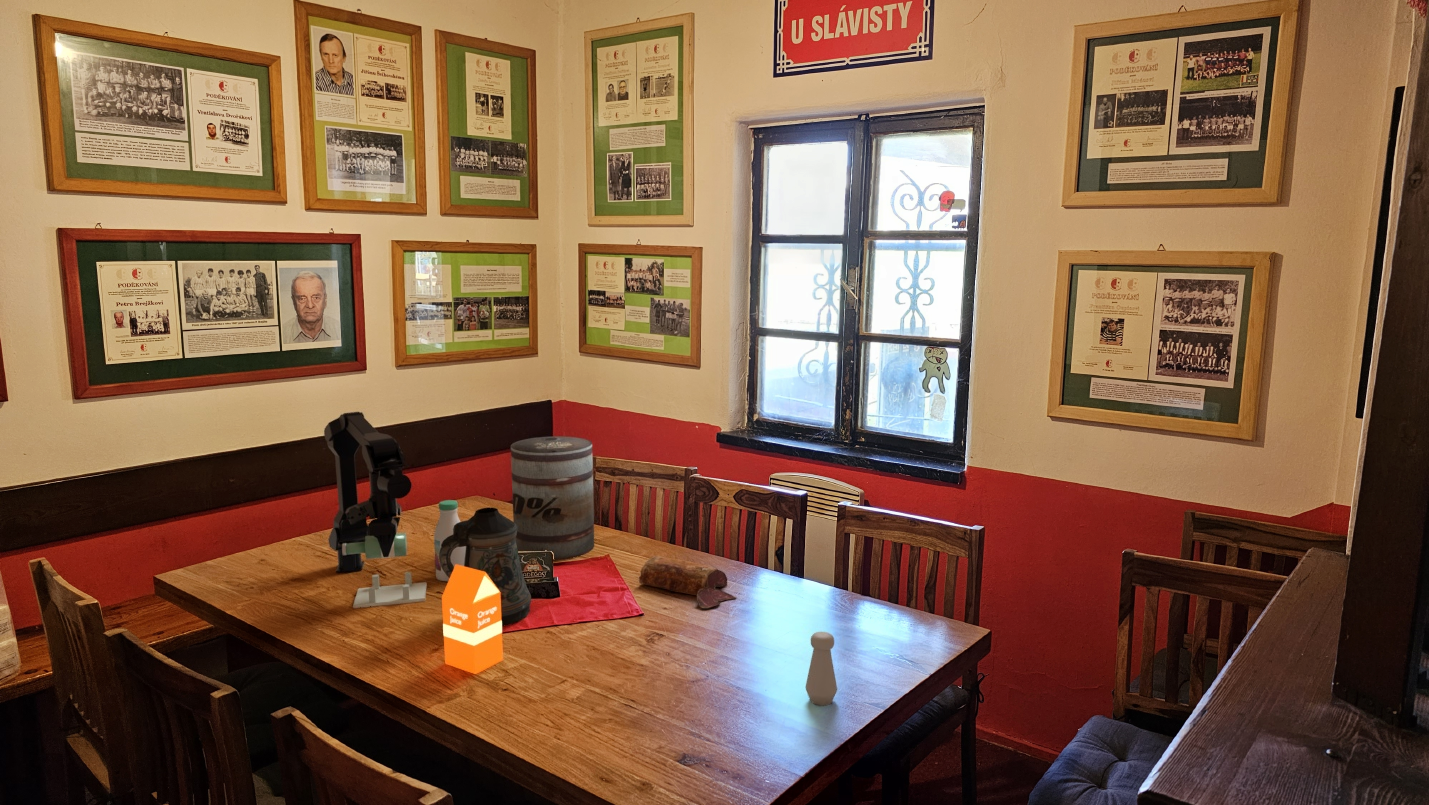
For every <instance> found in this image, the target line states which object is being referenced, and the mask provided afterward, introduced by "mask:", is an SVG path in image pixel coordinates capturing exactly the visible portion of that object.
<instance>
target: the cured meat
mask: <svg viewBox="0 0 1429 805" xmlns="http://www.w3.org/2000/svg"><path fill="white" fill-rule="evenodd" d="M638 579H639V580H638V583H639V584H642V585H646V586H650V587H655V588H660V589H665V590H667V591H670V592H675V593H680V594H681V593H683V594H687V595H693V596H696V600H697V603H698V604H699V607H700V608H702V609H711V608H713V607H716V606H719V605H721V602H723V601H727V600H735V599H737V596H735V595H732V594H731V593H728V592H726V591H724V590H722V589H718V588H719V587H720V588H725V587H727V586H728V578H727V575H726V573H725V572H723V571H722V570H719V569H718V568H715V567H712V566H711V567H710V566H708V565H704V564H701V563H696V562H692V561H689V560H683V559H676V558H670V557H664V556H658V555H656V556H653V557H651V558H649V559H647V560H646V561H645V562H644V564H643V565H642V567H641V570H640V576H639V577H638ZM716 587H718V588H716Z"/></svg>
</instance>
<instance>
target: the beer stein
mask: <svg viewBox="0 0 1429 805" xmlns="http://www.w3.org/2000/svg"><path fill="white" fill-rule="evenodd" d="M517 529H518V528H517V525H516V524H515V523H514V522H513V520H511V519H510V518H508V517H507V516H505V515H503V514H502V513H500V511H499V509H498V508H496V507H483V508H479V509H477V510H475V512H474V514H473V515H472V516H471V517H470V518H469V519H467V520H462V521H461V522H459V523H457V524H456V525H454V528H453V535H451V536H448V537H447V538H446V539H445V540H444V541H443V542H442V544H441V548H440V552H439V561H440V565H441V567H442V569H443V571H444V572H445V574H446V575H447V576H448V577H449V578H450V577H451V574H452V572H453V570H454V566H453V564H452V563H451V559H450V558H451V554H452V551H453V550H454V549H455V548H457V547H464V546H466V552H465V561H464V567H468V568H472V569H476V570H480V571H484V572H486V574H487V575H488V576H489V578H490V579H491V580H492V582H493V583H494V584H495V586H496V587H497V588H498V590H499V591H500V592H501V593H500V597H501V620H502V627H506V626H510V625H513V624H515V623H519V622H521V621H523V620H524V619H526V618H527V617H528V615H529V614H530V608H531V602H532V595H531V592H530V591H529V589H528V587H527V583H526V581H525V578H524V577H525V576H524V574H523V571H522V565H521V562H520V556H519V555H518V550H517V545H516V540H515V537H516V535H517ZM504 625H505V626H504Z"/></svg>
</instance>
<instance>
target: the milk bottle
mask: <svg viewBox="0 0 1429 805" xmlns="http://www.w3.org/2000/svg"><path fill="white" fill-rule="evenodd" d="M458 507H459V506H458V501H457V500H452V499H448V500H442V501H439V503H438V511H439V517H438V521H437V523H436V526H435V528H434V529H435V530H434V536H433V538H434V541H433V543H434V561H435V562H434V566H435V577H436V579H437V580H438V581H441V582H448V581H449V579H450V578H449V577H448V576H447V575H446V574H445V572H444V571H443V569H442V567H441V565H440V561H439V552H440V548H441V544H442V542H443V541H444V540H445V539H446V538H447V537H448V536H451V535H453V528H454V525H456V524H457V523H459V522H462V521H461V520H460V518H459V515H458V510H459V509H458ZM465 552H466V546H464V547H457V548H455V549H454V550H453V551H452V554H451V558H450V559H451V563H452V564H453V566H454V567H455V565H456V564H457V565H461V566H464V561H465Z"/></svg>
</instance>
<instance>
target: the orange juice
mask: <svg viewBox="0 0 1429 805" xmlns="http://www.w3.org/2000/svg"><path fill="white" fill-rule="evenodd" d="M500 593H501V592H500V591H499V590H498V588H497V587H496V586H495V584H494V583H493V582H492V580H491V579H490V578H489V576H488V575H487V574H486V572H484V571H480V570H476V569H472V568H468V567H464V566H461V565H457V564H456V565H455V567H454V570H453V572H452V574H451V577H450V579H449V581H447V583H446V586H445V589H444V590H443V594H442V595H441V604H442V607H441V609H442V622H443V623H442V631H443V633H442V634H443V644H444V646H443V649H444V662H445V665H449V666H451V667H454V668H456V669H459V670H463V671H465V672H468V673H471V674H474V675H477V674H478V673H481V672H483V671H484V670H487V669H488V668H490V667H492V666H495V665H496V664H497V663H500V662H502V661H503V660H504V655H503V654H504V653H503V648H504V647H503V626H502V620H501V597H500Z"/></svg>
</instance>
